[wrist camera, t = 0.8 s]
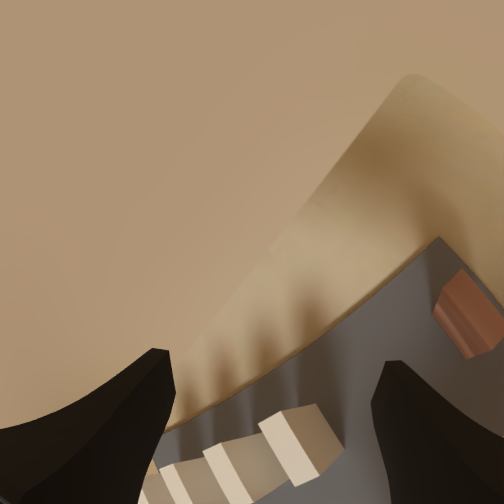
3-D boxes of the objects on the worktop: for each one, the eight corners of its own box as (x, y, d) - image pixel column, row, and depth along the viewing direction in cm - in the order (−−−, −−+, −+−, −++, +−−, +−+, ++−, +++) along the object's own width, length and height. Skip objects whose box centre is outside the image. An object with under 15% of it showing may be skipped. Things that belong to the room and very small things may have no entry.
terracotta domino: (446, 300, 19) (461, 268, 13) (480, 344, 16) (511, 328, 10) (431, 314, 19) (442, 287, 13) (465, 359, 16) (491, 350, 11)
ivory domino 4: (315, 403, 20) (280, 410, 15) (344, 449, 18) (319, 475, 12) (298, 413, 21) (257, 423, 15) (326, 459, 18) (294, 487, 12)
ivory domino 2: (227, 451, 22) (173, 463, 16) (250, 492, 19) (200, 517, 13) (214, 456, 22) (158, 468, 16) (236, 497, 19) (184, 520, 14)
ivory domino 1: (192, 466, 22) (136, 476, 17) (212, 505, 20) (159, 525, 14) (181, 470, 22) (125, 480, 17) (200, 508, 20) (147, 526, 14)
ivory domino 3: (269, 430, 21) (220, 442, 15) (295, 474, 18) (253, 502, 13) (253, 438, 21) (202, 451, 16) (278, 482, 18) (233, 509, 13)
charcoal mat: (549, 381, 12) (551, 380, 11) (213, 564, 16) (211, 566, 16) (438, 238, 21) (438, 236, 21) (149, 442, 26) (146, 442, 25)
